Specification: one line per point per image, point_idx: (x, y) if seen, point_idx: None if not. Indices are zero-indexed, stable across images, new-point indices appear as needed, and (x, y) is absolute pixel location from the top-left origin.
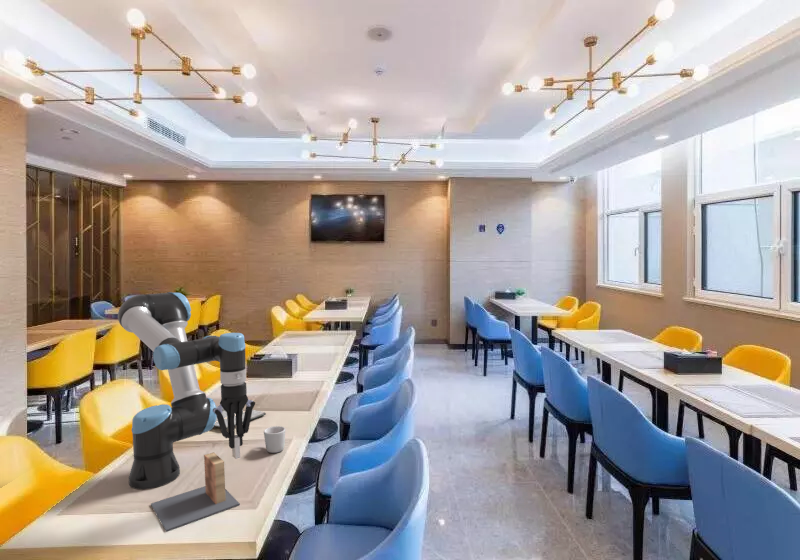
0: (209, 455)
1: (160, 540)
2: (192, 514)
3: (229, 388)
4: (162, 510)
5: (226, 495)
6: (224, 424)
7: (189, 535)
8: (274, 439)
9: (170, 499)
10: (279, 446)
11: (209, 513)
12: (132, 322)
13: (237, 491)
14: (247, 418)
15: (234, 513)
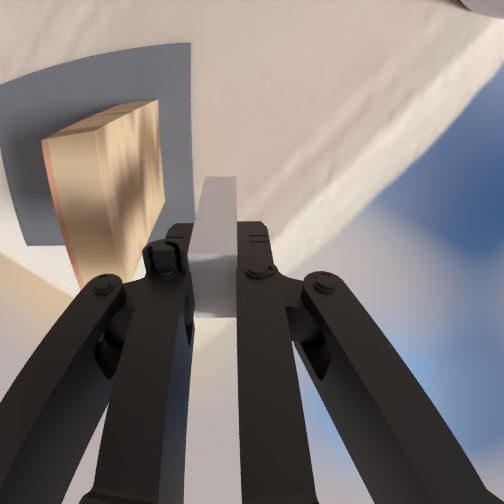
0: (64, 166)
1: (25, 264)
2: None
3: None
4: (11, 146)
5: (176, 170)
6: (78, 443)
7: (71, 284)
8: (495, 5)
9: (30, 88)
10: (486, 14)
11: None
12: None
13: (223, 153)
14: (352, 449)
15: None
